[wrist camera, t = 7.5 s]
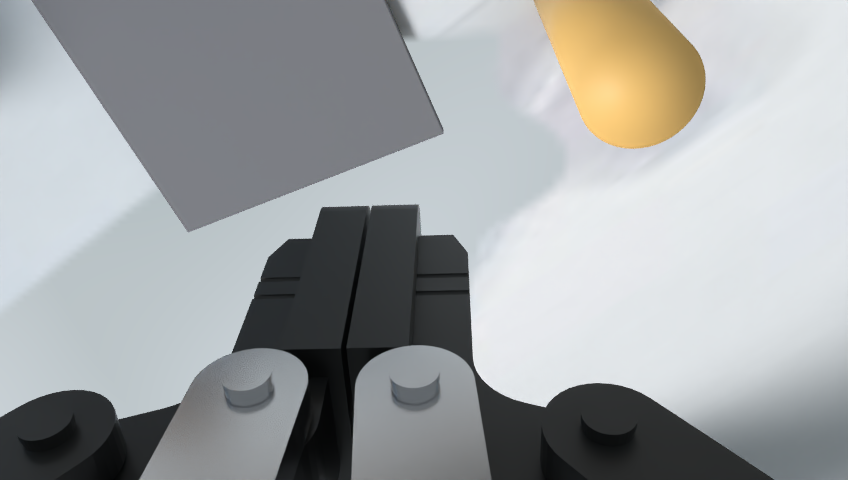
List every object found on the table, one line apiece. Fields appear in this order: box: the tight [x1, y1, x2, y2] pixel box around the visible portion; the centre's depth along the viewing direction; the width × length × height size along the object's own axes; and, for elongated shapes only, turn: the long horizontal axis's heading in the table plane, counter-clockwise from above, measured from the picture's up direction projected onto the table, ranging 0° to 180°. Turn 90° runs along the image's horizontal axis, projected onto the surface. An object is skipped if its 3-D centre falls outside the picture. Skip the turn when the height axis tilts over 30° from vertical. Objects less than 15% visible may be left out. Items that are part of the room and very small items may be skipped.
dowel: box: [534, 0, 705, 149], centre depth 21 cm, size 3×3×10 cm
